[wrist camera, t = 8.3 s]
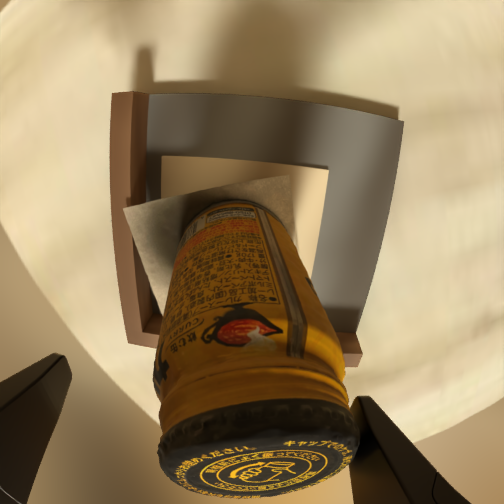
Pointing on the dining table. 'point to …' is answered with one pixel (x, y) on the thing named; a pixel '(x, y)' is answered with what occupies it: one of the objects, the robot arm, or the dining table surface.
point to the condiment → (241, 345)
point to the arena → (253, 168)
